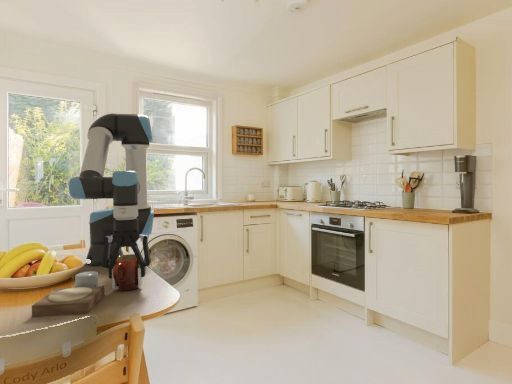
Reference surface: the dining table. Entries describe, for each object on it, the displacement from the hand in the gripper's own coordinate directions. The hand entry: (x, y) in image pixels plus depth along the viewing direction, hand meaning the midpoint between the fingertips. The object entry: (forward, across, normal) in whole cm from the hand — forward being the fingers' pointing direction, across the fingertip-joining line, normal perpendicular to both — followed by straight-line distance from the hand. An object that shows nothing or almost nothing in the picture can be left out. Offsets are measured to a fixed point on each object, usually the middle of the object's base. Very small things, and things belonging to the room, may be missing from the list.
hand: (127, 287), depth 107 cm
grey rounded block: (+1, -15, +7) cm, 17 cm away
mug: (+1, -1, 0) cm, 1 cm away
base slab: (+1, -13, -11) cm, 17 cm away
